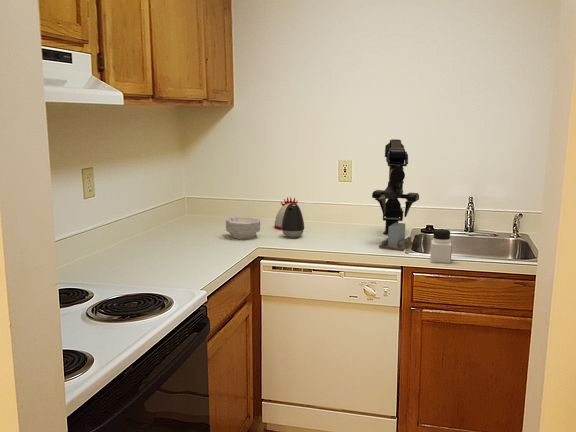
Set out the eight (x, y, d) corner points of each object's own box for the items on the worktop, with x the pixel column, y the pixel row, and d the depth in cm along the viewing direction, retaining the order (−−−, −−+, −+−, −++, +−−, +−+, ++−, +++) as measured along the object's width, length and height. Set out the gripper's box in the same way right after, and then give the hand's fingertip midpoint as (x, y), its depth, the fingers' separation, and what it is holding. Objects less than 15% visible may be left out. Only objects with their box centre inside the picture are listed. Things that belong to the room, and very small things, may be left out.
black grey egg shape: (277, 238, 259) (277, 204, 256) (286, 233, 269) (286, 200, 266) (299, 240, 255) (299, 205, 253) (307, 235, 265) (307, 202, 262)
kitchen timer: (303, 231, 275) (303, 199, 272) (274, 230, 275) (274, 199, 272) (303, 225, 289) (303, 194, 286) (275, 224, 289) (275, 194, 286)
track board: (390, 241, 254) (390, 234, 253) (413, 244, 249) (413, 237, 248) (379, 248, 242) (379, 241, 241) (402, 251, 237) (403, 243, 236)
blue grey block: (395, 241, 250) (396, 222, 249) (404, 242, 249) (405, 223, 247) (387, 245, 242) (388, 226, 240) (397, 246, 240) (398, 227, 238)
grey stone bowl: (260, 240, 254) (260, 222, 253) (225, 240, 253) (225, 222, 252) (260, 233, 269) (260, 216, 268) (226, 233, 268) (226, 216, 267)
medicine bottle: (450, 263, 218) (452, 231, 216) (431, 262, 220) (432, 231, 218) (449, 258, 225) (451, 228, 223) (430, 257, 227) (431, 227, 224)
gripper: (368, 179, 242) (366, 217, 245) (412, 183, 233) (410, 221, 236) (377, 176, 251) (376, 212, 254) (420, 179, 243) (418, 216, 246)
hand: (394, 215), depth 247 cm, fingers open, 9 cm apart
